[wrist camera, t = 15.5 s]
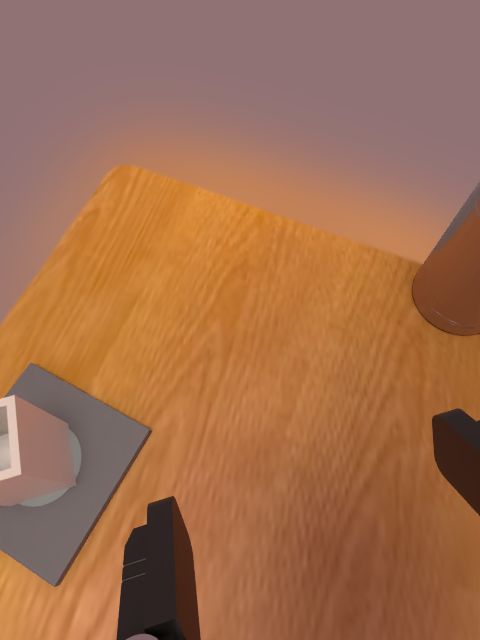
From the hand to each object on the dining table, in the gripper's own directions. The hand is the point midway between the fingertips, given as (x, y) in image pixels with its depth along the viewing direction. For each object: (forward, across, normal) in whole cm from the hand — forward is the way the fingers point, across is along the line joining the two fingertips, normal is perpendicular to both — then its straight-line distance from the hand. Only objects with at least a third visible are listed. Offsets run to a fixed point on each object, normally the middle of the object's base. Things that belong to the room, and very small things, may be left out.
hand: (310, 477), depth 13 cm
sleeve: (+24, +19, +12) cm, 33 cm away
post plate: (+25, +19, +13) cm, 34 cm away
